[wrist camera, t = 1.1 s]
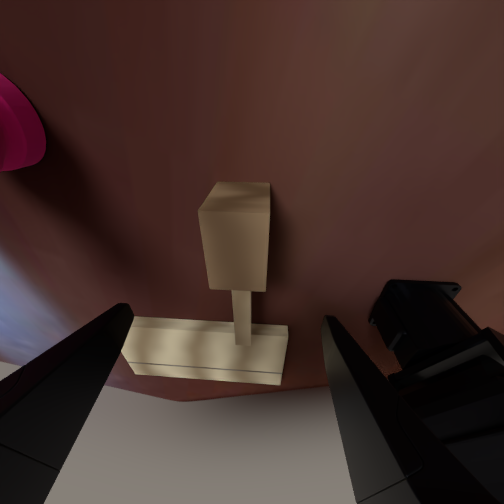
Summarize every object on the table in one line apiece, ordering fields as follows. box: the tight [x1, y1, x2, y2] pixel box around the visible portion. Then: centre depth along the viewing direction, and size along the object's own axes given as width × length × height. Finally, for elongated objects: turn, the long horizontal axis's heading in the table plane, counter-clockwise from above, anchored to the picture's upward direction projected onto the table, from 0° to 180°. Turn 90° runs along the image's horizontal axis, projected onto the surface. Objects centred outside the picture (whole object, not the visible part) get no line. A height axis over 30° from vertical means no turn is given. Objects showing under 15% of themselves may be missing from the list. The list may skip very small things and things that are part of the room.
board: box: [121, 316, 288, 385], centre depth 29 cm, size 22×12×2 cm, turn 90°
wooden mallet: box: [198, 182, 270, 346], centre depth 18 cm, size 4×16×6 cm, turn 0°
